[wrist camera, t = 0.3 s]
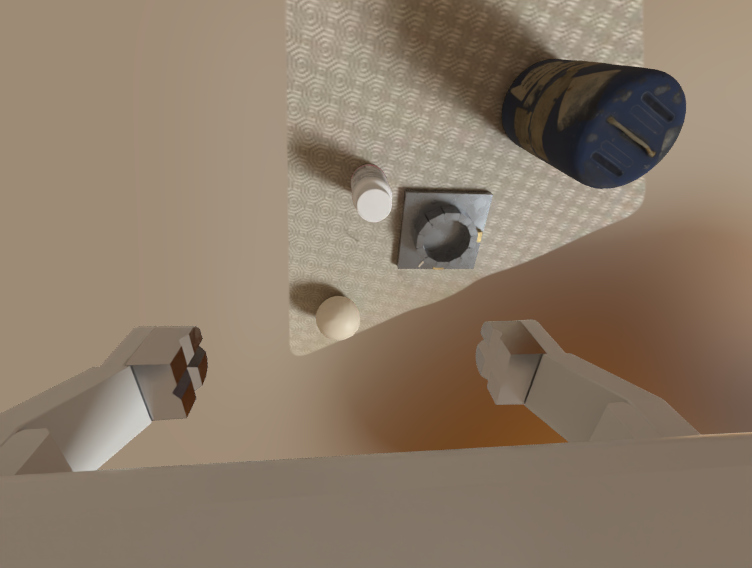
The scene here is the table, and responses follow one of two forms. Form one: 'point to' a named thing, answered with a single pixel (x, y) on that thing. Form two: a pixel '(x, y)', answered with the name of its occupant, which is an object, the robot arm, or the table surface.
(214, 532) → the robot arm
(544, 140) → the canister
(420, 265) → the lock socket
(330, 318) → the beige sphere
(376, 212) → the pill bottle
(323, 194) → the table surface
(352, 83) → the table surface
